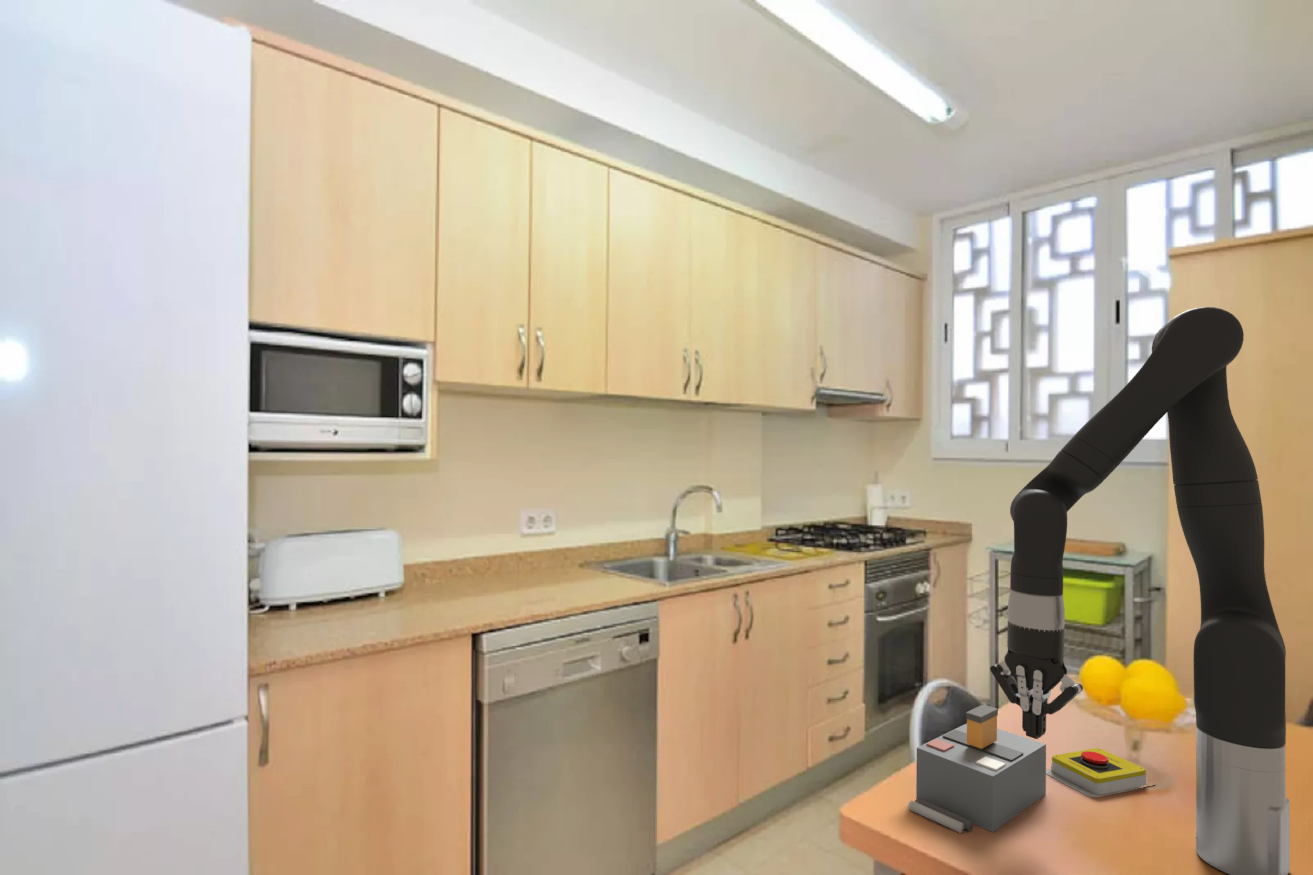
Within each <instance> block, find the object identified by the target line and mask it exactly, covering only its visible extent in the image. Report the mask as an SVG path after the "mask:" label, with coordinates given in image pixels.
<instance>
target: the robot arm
mask: <svg viewBox="0 0 1313 875" xmlns="http://www.w3.org/2000/svg"><path fill="white" fill-rule="evenodd" d="M1240 322H1241V321H1239V319H1238V318H1237V317H1236V316H1235V315H1234V314H1233V313H1231V312H1229V311H1227V310H1225V309H1223V308H1220V307H1219V308H1218V307H1216V306H1215V307H1214V306H1202V307H1201V306H1200V307H1196V308H1192V309H1187V310H1185V311H1183V312H1181V313H1178V314H1177V315H1175V316H1174V317H1172V318H1171V319H1170V320H1169V321H1167V322H1166V323H1165V324H1163V326H1162V327H1161V328H1160V329H1158V331H1157V332H1156V334H1155V336H1154V338H1153V340H1152V344H1151V354H1150V355H1149V356H1148V358H1147V359H1146V360H1145V362H1144V363H1143V365H1142V366H1141V368H1140V369H1139V370H1138V371H1137V373H1136V374H1135V375H1134V376H1133V377H1132V378H1131V379H1130V380H1129V382H1128V383H1127V384H1126V385H1125V386H1124V387H1123V388H1122V389H1121V390H1120V391H1119V392H1118V393H1117V394H1116V395H1115V396H1114V397H1113V398H1111V400H1109V401H1108V402H1107V403H1106V404H1105V405H1104V406H1103V407H1102V408H1101V409H1100V410H1099V411H1098V412H1096V413H1095V414H1094V415H1093V416H1092V417H1091V418H1089V420H1088V421H1087V422H1086V423H1085V424H1084V425H1082V426H1081V428H1080V429H1079V430H1078V431H1076V433H1075V434H1074V435H1073V436H1072V437H1071V439H1070V440H1068V442H1067V443H1066V444H1065V445H1064V446H1063V447H1062V448H1061V449H1060V451H1058V453H1057V454H1056V455H1055V457H1054V458H1053V459H1052V460H1051V462H1049V464H1048V465H1047V466H1046V467H1045V468H1044V469H1042V470H1041V471H1040V472H1039V473H1038V474H1037V475H1035V477H1033V478H1032V479H1031V480H1030V481H1029V482H1028V483H1027V484H1026V485H1025V486H1024V487H1023V488H1022V489H1020V491H1019V492H1018V493H1017V494H1016V495H1015V497H1014V498H1013V500H1012V501H1011V503H1010V507H1009V508H1010V509H1009V510H1010V511H1009V513H1010V514H1009V515H1010V517H1011V519H1012V521H1013V550H1014V551H1013V554H1012V557H1011V561H1010V584H1009V586H1010V587H1009V595H1008V602H1007V612H1006V616H1007V637H1006V639H1007V644H1006V645H1007V652H1006V654H1005V655H1004V657H1003V658H1004V661H1001V662H999V663H994V664H993V665H991V666H989V667H990V668H989V670H990V673H991V674H992V675H993V677H994V678H995V680H996V682H997V683H998V685H999V687H1000V688H1001V689H1002V692H1003V693H1004V694H1005V696H1006V698H1007V699H1008V701H1009V702H1010V703H1011V704H1015V705H1017V706H1019V707H1020V708H1021V710H1022V715H1021V717H1022V722H1021V724H1022V725H1021V727H1022V730H1023V732H1025V736H1026V737H1029V738H1031V739H1033V740H1038V739H1040V738H1041V737H1042V736H1044V735H1045V734H1046V731H1047V715H1054V714H1055V713H1057V712H1059V711H1061V709H1062V708H1064V707H1065V706H1066V705H1067V704H1069V702H1071V701H1072V700H1073V699H1074V698H1075V697H1076V696H1078V695H1079V694H1080V693H1081V692H1083V689H1084V686H1083V685H1082V684H1081V683H1079V682H1075V681H1074V680H1073V679H1072V677H1070V676H1069V675H1068V669H1067V667H1066V666H1065V662H1064V659H1065V626H1066V625H1065V620H1066V619H1065V618H1066V617H1065V616H1066V613H1065V612H1066V611H1065V610H1066V609H1065V602H1064V565H1063V564H1064V563H1063V561H1064V560H1063V559H1064V554H1065V548H1066V542H1067V534H1068V512H1069V511H1070V510H1071V509H1072V508H1073V507H1074V505H1075V504H1076V503H1078V502H1079V500H1080V499H1081V498H1083V497H1084V495H1086V494H1089V493H1091V492H1093V491H1094V490H1095V489H1097V488H1098V487H1099V486H1100V485H1101V484H1102V483H1103V482H1104V481H1105V480H1106V479H1107V478H1108V477H1109V476H1110V475H1111V474H1112V472H1114V471H1115V470H1116V469H1117V468H1118V467H1119V465H1120V464H1121V463H1123V461H1124V460H1125V459H1126V458H1127V457H1128V456H1129V455H1130V453H1131V452H1132V451H1133V450H1134V449H1135V448H1136V447H1137V446H1138V445H1139V443H1140V442H1141V441H1142V440H1143V438H1145V436H1147V434H1148V433H1149V432H1150V431H1151V430H1152V429H1153V427H1154V426H1155V425H1156V424H1157V423H1158V422H1160V420H1161V419H1162V418H1163V417H1164V416H1165V415H1166V414H1167V419H1168V436H1169V438H1168V439H1169V452H1170V461H1171V471H1172V482H1173V490H1174V496H1175V504H1176V508H1177V514H1178V518H1179V522H1180V525H1181V529H1182V533H1183V536H1184V539H1185V542H1186V544H1187V547H1188V548H1189V552H1190V555H1191V557H1192V560H1193V563H1194V566H1195V569H1196V573H1197V577H1198V582H1199V583H1198V584H1199V585H1198V586H1199V596H1200V597H1199V599H1200V626H1199V627H1200V628H1199V630H1198V632H1197V634H1196V636H1195V639H1194V641H1193V642H1194V643H1193V705H1194V709H1195V725H1196V726H1195V739H1196V740H1195V851H1196V853H1197V855H1198V856H1199V857H1200V858H1201V859H1202V860H1203V861H1204V862H1205V863H1207V865H1210V866H1211V867H1212V868H1213V867H1214V868H1215V869H1217V870H1219V871H1221V872H1223V873H1225V874H1228V875H1289V874H1290V871H1291V870H1290V868H1291V867H1290V866H1291V864H1290V862H1291V861H1290V860H1291V856H1290V855H1291V853H1290V852H1291V850H1290V848H1291V847H1290V845H1291V842H1290V839H1291V838H1290V836H1291V835H1290V834H1291V832H1290V830H1291V829H1290V826H1291V825H1290V823H1291V822H1290V821H1291V820H1290V819H1291V818H1290V815H1291V814H1290V812H1291V811H1290V810H1291V809H1290V805H1291V804H1290V803H1291V802H1290V799H1289V798H1288V797H1287V796H1286V795H1287V794H1286V792H1287V791H1286V790H1287V788H1286V783H1287V781H1286V780H1287V779H1286V770H1287V768H1286V765H1287V764H1286V759H1287V758H1286V753H1287V752H1286V744H1287V743H1286V742H1287V738H1286V736H1287V734H1286V733H1287V732H1286V731H1287V720H1286V719H1287V718H1286V717H1287V716H1286V657H1287V656H1286V655H1287V652H1286V646H1285V640H1284V638H1283V636H1282V634H1281V630H1280V628H1279V624H1278V622H1277V619H1276V615H1275V612H1274V608H1273V604H1272V601H1271V596H1270V593H1269V589H1268V586H1267V584H1268V583H1267V581H1266V572H1265V528H1264V527H1265V525H1264V524H1265V523H1264V512H1263V503H1262V502H1263V501H1262V496H1261V489H1260V485H1259V484H1260V483H1259V480H1258V478H1259V477H1258V474H1257V470H1256V465H1255V462H1254V459H1253V457H1252V455H1251V454H1252V453H1251V451H1250V450H1249V448H1248V444H1247V443H1246V440H1245V439H1244V436H1243V435H1242V433H1241V431H1240V428H1239V427H1238V425H1237V423H1236V421H1235V419H1234V416H1233V413H1232V409H1231V406H1230V400H1229V391H1228V375H1227V369H1228V368H1227V366H1228V365H1230V364H1231V363H1232V362H1233V361H1234V360H1235V359H1236V358H1237V356H1239V353H1240V351H1241V350H1242V347H1243V344H1244V335H1245V334H1244V329H1243V326H1242V324H1241V323H1240ZM1012 676H1013V677H1012ZM1014 679H1015V680H1014ZM1016 682H1017V683H1016ZM1060 682H1061V685H1060V687H1059V689H1060V691H1061V693H1060V694H1059V695H1058V696H1056V697H1055V698H1054V699H1052V701H1050V702H1049V699H1050V697H1051V692H1052V690H1053V689H1054V688H1055V687H1056V686H1057V685H1059V683H1060Z"/></svg>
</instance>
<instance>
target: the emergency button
mask: <svg viewBox="0 0 1313 875" xmlns="http://www.w3.org/2000/svg"><path fill="white" fill-rule="evenodd" d="M1146 774H1147V773H1146V768H1144V767H1143V766H1140V765H1137V764H1136V763H1134V762H1131V761H1129V760H1127V759H1124V758H1122V757H1120V756H1118V755H1116V754H1113V753H1111V752H1109V751H1107V750H1105V749H1102V748H1098V747H1096V748H1094V747H1093V748H1088V749H1083V750H1078V751H1071V752H1070V751H1069V752H1064V753H1058V754H1053V755H1052V758H1051V768H1050V769H1046V776H1049V777H1051V778H1053V779H1055V780H1057V781H1058V782H1060V783H1062V784H1063V785H1066V786H1067V787H1069V788H1071V789H1073V790H1075V791H1076V792H1079V793H1081V794H1083V795H1085V796H1086V797H1089V798H1100V797H1104V796H1109V795H1115V794H1119V793H1125V792H1129V791H1135V789H1136V790H1139V789H1138V788H1139V787H1141V786H1142V785H1143V786H1144V785H1147V782H1146V778H1147V775H1146Z"/></svg>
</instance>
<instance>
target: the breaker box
mask: <svg viewBox="0 0 1313 875" xmlns="http://www.w3.org/2000/svg"><path fill="white" fill-rule="evenodd" d="M1046 770H1047V744H1046V743H1044V742H1041V741H1037V740H1036V739H1033V738H1028V737H1025V736H1022V735H1019V734H1015V733H1013V732H1009V731H1007V730H1003V729H1000V728H997V741H995V742H993V743H992V744H990V745H988V746H986V747H984V748H983V749H981V748H978V747H975V746H972V745H969V744H967V722H966V723H964V724H962V725H960V726H958V727H957V728H954V729H952V730H950V731H948V732H946V733H943V734H942V735H940V736H938V737H936V738H934V739H932V740H929V741H928V742H925V743H923V744H921V745H918V746H917V747H916V779H915V780H916V783H915V784H916V786H915V787H916V796H915V798H916V799H917V801H918V800H919V799H923V800H925V801H927V802H930V803H932V804H934V805H937V806H939V807H941V808H943V809H946V810H948V811H950V812H953V813H955V814H957V815H959V816H962V817H964V818H966V819H969V820H971V821H972V822H973V825H975V826H977V827H980V828H982V829H984V830H986V831H989V832H991V833H994V832H996V831H997V830H998V829H1000V828H1001V827H1002V826H1004V825H1005V824H1006V823H1008V822H1009V821H1011V820H1012V819H1014V818H1015V817H1017V816H1018V815H1019V814H1021V813H1022V812H1023V811H1024V810H1026V809H1027V808H1029V807H1030V806H1032V804H1034V803H1036V802H1037V801H1039V800H1040V799H1041V798H1042V797H1044V796H1046V795H1047V794H1046V793H1047V780H1046V779H1047V774H1046Z"/></svg>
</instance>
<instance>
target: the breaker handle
mask: <svg viewBox="0 0 1313 875" xmlns="http://www.w3.org/2000/svg"><path fill="white" fill-rule="evenodd" d="M998 716H999V709H998V708H996V707H994V706H993V707H992V706H989V705H986V704H981V705H978V706H977V707H974V708H972V709H970V710H968V711H966V712H965V719H966V723H967V744H969V745H972V746H975V747H978V748H981V749H983V748H984V747H986V746H988V745H990V744H992V743H993V742H995V741H997V729H998Z"/></svg>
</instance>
